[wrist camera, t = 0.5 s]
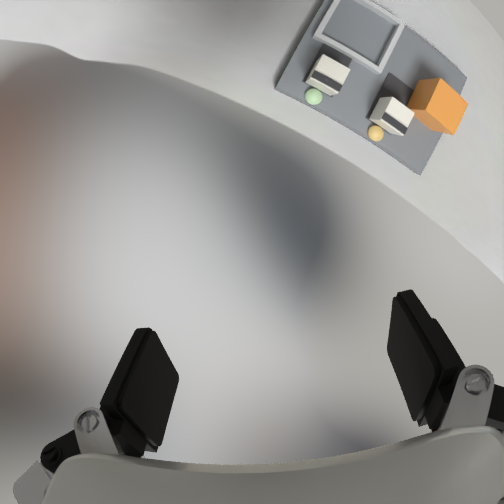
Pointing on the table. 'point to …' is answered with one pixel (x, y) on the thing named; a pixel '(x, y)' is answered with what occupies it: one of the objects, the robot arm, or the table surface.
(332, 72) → the toggle
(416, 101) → the cap
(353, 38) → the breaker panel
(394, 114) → the cube with dark stripe
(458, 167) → the table surface
